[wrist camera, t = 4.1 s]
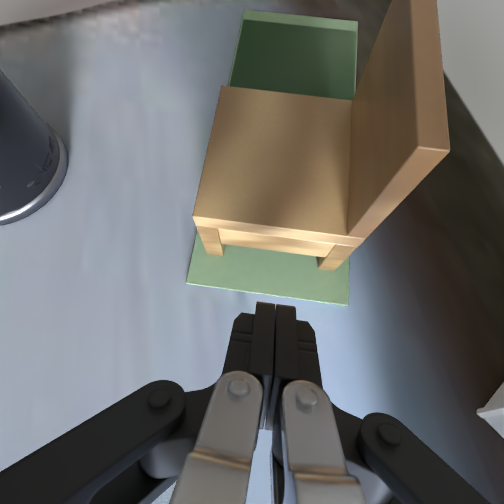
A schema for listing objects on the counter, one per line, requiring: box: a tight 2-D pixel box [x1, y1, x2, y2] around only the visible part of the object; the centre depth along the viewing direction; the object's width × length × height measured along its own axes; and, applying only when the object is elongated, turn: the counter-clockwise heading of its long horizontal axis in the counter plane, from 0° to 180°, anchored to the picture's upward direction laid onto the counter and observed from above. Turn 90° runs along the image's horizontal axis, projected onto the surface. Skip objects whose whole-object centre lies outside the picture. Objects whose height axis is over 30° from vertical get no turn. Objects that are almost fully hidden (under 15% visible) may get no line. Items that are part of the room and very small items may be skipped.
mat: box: [186, 9, 358, 306], centre depth 25 cm, size 11×28×1 cm, turn 172°
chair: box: [193, 0, 450, 271], centre depth 17 cm, size 9×9×13 cm
